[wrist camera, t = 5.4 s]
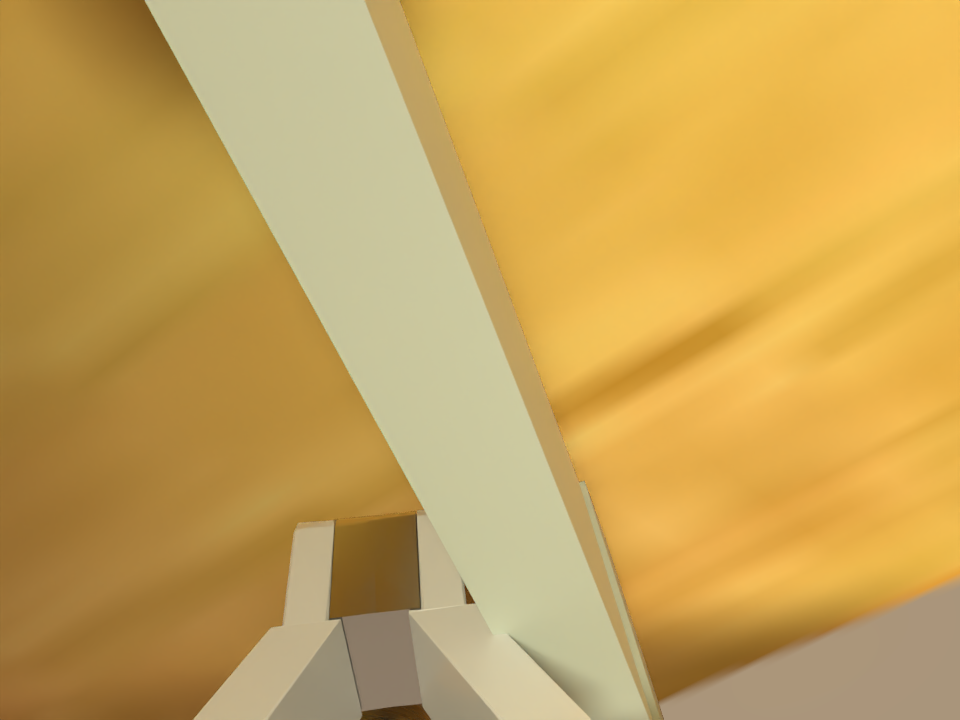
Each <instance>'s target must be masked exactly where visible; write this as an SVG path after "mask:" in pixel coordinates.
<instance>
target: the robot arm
mask: <svg viewBox="0 0 960 720" xmlns="http://www.w3.org/2000/svg"><path fill="white" fill-rule="evenodd" d="M415 704H422V706H423V708H424V710H425V711H426V713H427V714H428V715H429V717H430V718H431V720H591V719H590V717H589V716H588V715H587V714H586V713H585V712H584V711H583V710H582V709H581V708H580V707H579V706H578V705H577V704H576V703H575V702H574V701H573V700H572V699H571V698H570V697H569V696H568V695H567V694H566V693H565V692H564V691H563V690H562V689H561V688H560V687H559V686H558V685H557V684H556V683H555V682H554V681H553V680H552V679H551V678H550V676H549V675H548V674H547V673H546V672H545V671H544V670H543V669H542V668H541V667H540V666H539V665H538V664H537V663H536V662H535V661H534V660H533V659H532V658H531V657H530V656H529V655H528V654H527V653H526V652H525V651H524V650H523V649H522V648H521V647H520V646H519V645H518V644H517V643H516V642H515V641H514V640H513V639H512V638H511V637H510V635H509V634H506V633H505V634H496V635H493V634H492V632H491V631H490V629H489V627H488V625H487V623H486V621H485V620H484V618H483V616H482V614H481V612H480V611H479V609H478V607H477V605H476V603H474V604H467V603H466V595H465V586H464V581H463V580H462V578H461V576H460V574H459V572H458V570H457V569H456V567H455V565H454V563H453V561H452V560H451V558H450V556H449V554H448V552H447V550H446V549H445V547H444V545H443V543H442V541H441V539H440V538H439V536H438V534H437V532H436V530H435V529H434V527H433V525H432V523H431V521H430V519H429V518H428V516H427V514H426V512H425V510H417V514H416V511H409V512H401V513H393V514H384V515H376V516H364V517H352V518H340V519H337V520H327V521H314V522H302V523H298V524H297V526H296V529H295V531H294V535H293V543H292V551H291V559H290V567H289V575H288V583H287V591H286V599H285V608H284V616H283V624H282V626H277V627H270V629H269V630H268V631H267V632H266V633H265V635H264V636H263V637H262V638H261V639H260V640H259V642H258V643H257V644H256V645H255V646H254V648H253V649H252V650H251V651H250V652H249V654H248V655H247V656H246V657H245V658H244V659H243V661H242V662H241V663H240V664H239V665H238V667H237V668H236V669H235V670H234V671H233V673H232V674H231V675H230V676H229V677H228V678H227V680H226V681H225V682H224V683H223V684H222V686H221V687H220V688H219V689H218V690H217V692H216V693H215V694H214V695H213V696H212V697H211V699H210V700H209V701H208V702H207V703H206V705H205V706H204V707H203V708H202V709H201V711H200V712H199V713H198V714H197V715H196V716H195V718H194V719H193V720H360V719H361V717H362V712H361V711H368V710H374V709H381V708H387V707H395V706H405V705H415Z"/></svg>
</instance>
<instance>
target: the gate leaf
mask: <svg viewBox="0 0 960 720" xmlns="http://www.w3.org/2000/svg"><path fill="white" fill-rule="evenodd" d="M145 2H146V4H147V6H148V8H149V10H150V11H151V13H152V15H153V17H154V19H155V21H156V22H157V24H158V26H159V28H160V30H161V31H162V33H163V35H164V37H165V39H166V41H167V42H168V44H169V46H170V48H171V50H172V51H173V53H174V55H175V57H176V59H177V61H178V62H179V64H180V66H181V68H182V70H183V71H184V73H185V75H186V77H187V79H188V81H189V82H190V84H191V86H192V88H193V90H194V92H195V93H196V95H197V97H198V99H199V101H200V102H201V104H202V106H203V108H204V110H205V112H206V113H207V115H208V117H209V119H210V121H211V122H212V124H213V126H214V128H215V130H216V132H217V133H218V135H219V137H220V139H221V141H222V143H223V144H224V146H225V148H226V150H227V152H228V153H229V155H230V157H231V159H232V161H233V163H234V164H235V166H236V168H237V170H238V172H239V173H240V175H241V177H242V179H243V181H244V183H245V184H246V186H247V188H248V190H249V192H250V193H251V195H252V197H253V199H254V201H255V203H256V204H257V206H258V208H259V210H260V212H261V214H262V215H263V217H264V219H265V221H266V223H267V224H268V226H269V228H270V230H271V232H272V234H273V235H274V237H275V239H276V241H277V243H278V244H279V246H280V248H281V250H282V252H283V254H284V255H285V257H286V259H287V261H288V263H289V265H290V266H291V268H292V270H293V272H294V274H295V275H296V277H297V279H298V281H299V283H300V285H301V286H302V288H303V290H304V292H305V294H306V295H307V297H308V299H309V301H310V303H311V305H312V306H313V308H314V310H315V312H316V314H317V316H318V317H319V319H320V321H321V323H322V325H323V326H324V328H325V330H326V332H327V334H328V336H329V337H330V339H331V341H332V343H333V345H334V346H335V348H336V350H337V352H338V354H339V356H340V357H341V359H342V361H343V363H344V365H345V367H346V368H347V370H348V372H349V374H350V376H351V377H352V379H353V381H354V383H355V385H356V387H357V388H358V390H359V392H360V394H361V396H362V397H363V399H364V401H365V403H366V405H367V407H368V408H369V410H370V412H371V414H372V416H373V417H374V419H375V421H376V423H377V425H378V427H379V428H380V430H381V432H382V434H383V436H384V438H385V439H386V441H387V443H388V445H389V447H390V448H391V450H392V452H393V454H394V456H395V458H396V459H397V461H398V463H399V465H400V467H401V468H402V470H403V472H404V474H405V476H406V478H407V479H408V481H409V483H410V485H411V487H412V489H413V490H414V492H415V494H416V496H417V498H418V499H419V501H420V503H421V505H422V507H423V509H424V510H425V512H426V514H427V516H428V518H429V519H430V521H431V523H432V525H433V527H434V529H435V530H436V532H437V534H438V536H439V538H440V539H441V541H442V543H443V545H444V547H445V549H446V550H447V552H448V554H449V556H450V558H451V560H452V561H453V563H454V565H455V567H456V569H457V570H458V572H459V574H460V576H461V578H462V580H463V581H464V583H465V585H466V587H467V589H468V590H469V592H470V594H471V596H472V598H473V600H474V601H475V603H476V605H477V607H478V609H479V611H480V612H481V614H482V616H483V618H484V620H485V621H486V623H487V625H488V627H489V629H490V631H491V632H492V634H493V635H496V634H505V633H506V634H509V635H510V637H511V638H512V639H513V640H514V641H515V642H516V643H517V644H518V645H519V646H520V647H521V648H522V649H523V650H524V651H525V652H526V653H527V654H528V655H529V656H530V657H531V658H532V659H533V660H534V661H535V662H536V663H537V664H538V665H539V666H540V667H541V668H542V669H543V670H544V671H545V672H546V673H547V674H548V675H549V676H550V678H551V679H552V680H553V681H554V682H555V683H556V684H557V685H558V686H559V687H560V688H561V689H562V690H563V691H564V692H565V693H566V694H567V695H568V696H569V697H570V698H571V699H572V700H573V701H574V702H575V703H576V704H577V705H578V706H579V707H580V708H581V709H582V710H583V711H584V712H585V713H586V714H587V715H588V716H589V717H590V719H591V720H664V718H663V715H662V712H661V709H660V706H659V703H658V700H657V697H656V693H655V690H654V687H653V684H652V681H651V678H650V675H649V672H648V669H647V666H646V662H645V659H644V656H643V653H642V650H641V647H640V644H639V641H638V638H637V635H636V631H635V628H634V625H633V622H632V619H631V616H630V613H629V610H628V607H627V604H626V600H625V597H624V594H623V591H622V588H621V585H620V582H619V579H618V576H617V573H616V569H615V566H614V563H613V560H612V557H611V554H610V551H609V548H608V545H607V542H606V538H605V536H604V533H603V530H602V528H601V525H600V522H599V519H598V517H597V514H596V511H595V508H594V506H593V503H592V500H591V497H590V495H589V492H588V489H587V487H586V484H585V481H583V482H579V481H578V478H577V476H576V473H575V470H574V468H573V465H572V462H571V459H570V457H569V454H568V451H567V449H566V446H565V443H564V441H563V438H562V435H561V433H560V430H559V427H558V425H557V422H556V419H555V416H554V414H553V411H552V408H551V406H550V403H549V400H548V398H547V395H546V392H545V390H544V387H543V384H542V382H541V379H540V376H539V373H538V371H537V368H536V365H535V363H534V360H533V357H532V355H531V352H530V349H529V347H528V344H527V341H526V338H525V336H524V333H523V330H522V328H521V325H520V322H519V320H518V317H517V314H516V312H515V309H514V306H513V304H512V301H511V298H510V295H509V293H508V290H507V287H506V285H505V282H504V279H503V277H502V274H501V271H500V269H499V266H498V263H497V261H496V258H495V255H494V252H493V250H492V247H491V244H490V242H489V239H488V236H487V234H486V231H485V228H484V226H483V223H482V220H481V217H480V215H479V212H478V209H477V207H476V204H475V201H474V199H473V196H472V193H471V191H470V188H469V185H468V183H467V180H466V177H465V174H464V172H463V169H462V166H461V164H460V161H459V158H458V156H457V153H456V150H455V148H454V145H453V142H452V140H451V137H450V134H449V131H448V129H447V126H446V123H445V121H444V118H443V115H442V113H441V110H440V107H439V105H438V102H437V99H436V97H435V94H434V91H433V88H432V86H431V83H430V80H429V78H428V75H427V72H426V70H425V67H424V64H423V62H422V59H421V56H420V53H419V51H418V48H417V45H416V43H415V40H414V37H413V35H412V32H411V29H410V27H409V24H408V21H407V19H406V16H405V13H404V10H403V8H402V5H401V2H400V0H145Z"/></svg>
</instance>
